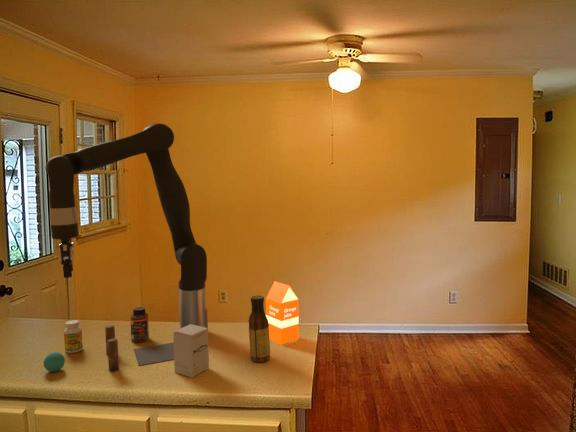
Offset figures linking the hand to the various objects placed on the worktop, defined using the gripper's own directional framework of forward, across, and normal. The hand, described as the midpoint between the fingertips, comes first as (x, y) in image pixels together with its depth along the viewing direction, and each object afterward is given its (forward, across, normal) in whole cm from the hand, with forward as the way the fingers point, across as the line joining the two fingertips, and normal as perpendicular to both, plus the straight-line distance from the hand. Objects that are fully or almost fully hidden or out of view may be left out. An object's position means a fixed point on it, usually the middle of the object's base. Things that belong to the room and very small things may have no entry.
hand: (68, 274), depth 141 cm
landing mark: (+28, -7, -24) cm, 38 cm away
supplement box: (+28, -24, -32) cm, 49 cm away
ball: (+24, -7, +5) cm, 26 cm away
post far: (+27, 0, -10) cm, 29 cm away
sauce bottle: (+29, -24, -53) cm, 65 cm away
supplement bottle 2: (+28, +8, -20) cm, 35 cm away
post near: (+27, -13, -11) cm, 32 cm away
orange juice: (+29, -12, -66) cm, 73 cm away
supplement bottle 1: (+27, +8, +1) cm, 29 cm away
